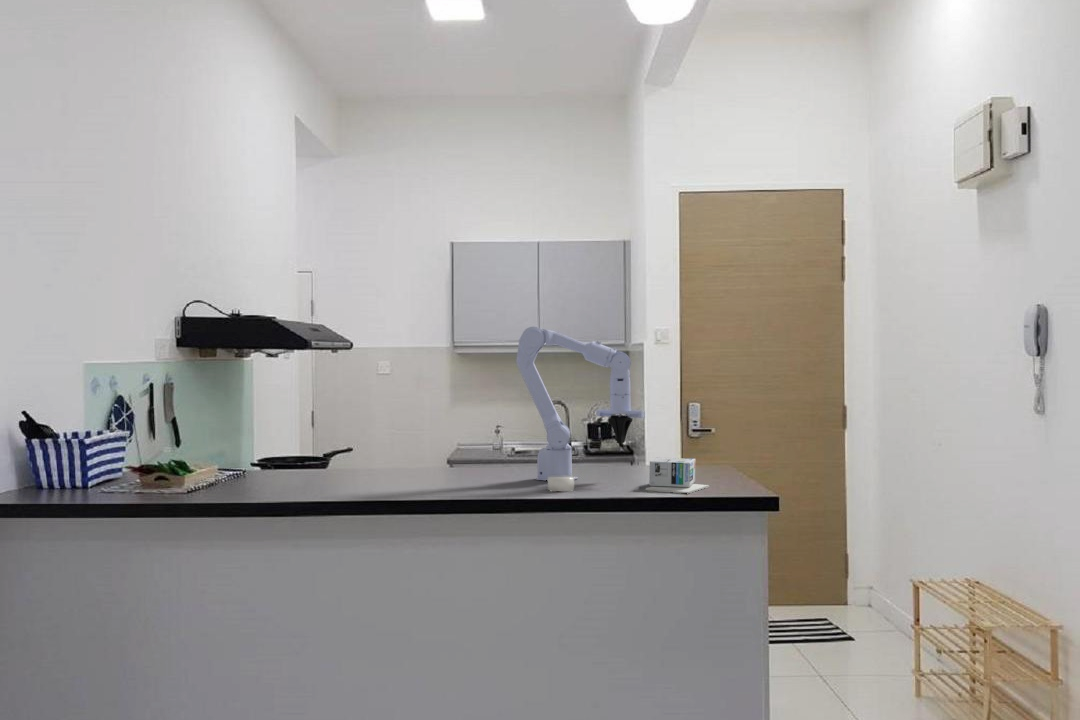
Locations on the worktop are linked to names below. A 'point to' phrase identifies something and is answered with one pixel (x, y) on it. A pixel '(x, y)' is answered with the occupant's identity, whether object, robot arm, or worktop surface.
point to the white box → (678, 488)
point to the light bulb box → (672, 472)
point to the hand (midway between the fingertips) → (620, 442)
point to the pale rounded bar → (561, 483)
